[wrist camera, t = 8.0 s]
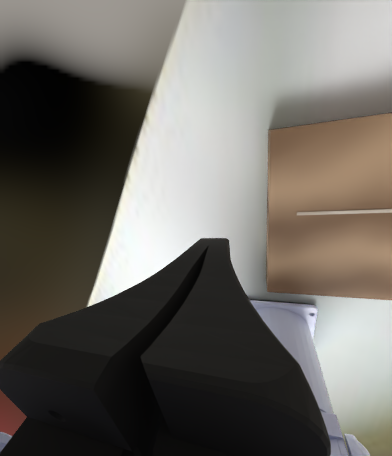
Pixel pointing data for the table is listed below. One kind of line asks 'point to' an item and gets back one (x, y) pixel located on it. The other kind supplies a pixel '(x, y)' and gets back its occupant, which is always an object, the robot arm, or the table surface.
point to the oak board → (331, 208)
